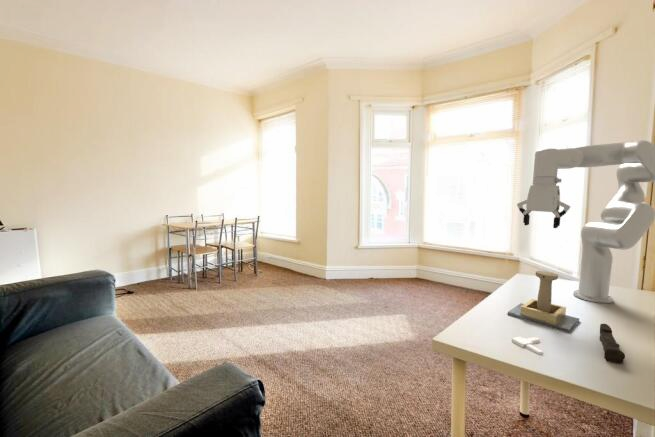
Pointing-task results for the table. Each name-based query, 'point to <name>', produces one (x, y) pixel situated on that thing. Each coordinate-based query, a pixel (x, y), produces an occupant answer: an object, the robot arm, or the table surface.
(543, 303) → the handle
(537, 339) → the corner connector
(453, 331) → the table surface
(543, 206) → the robot arm
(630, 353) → the table surface
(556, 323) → the collar base
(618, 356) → the dark brown carved statuette
